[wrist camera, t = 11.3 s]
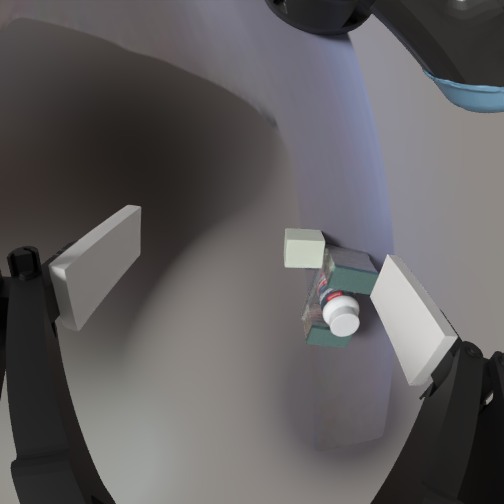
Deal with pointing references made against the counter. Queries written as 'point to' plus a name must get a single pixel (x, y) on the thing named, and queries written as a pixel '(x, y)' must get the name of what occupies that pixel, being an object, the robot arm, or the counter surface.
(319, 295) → the pill bottle
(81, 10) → the counter surface
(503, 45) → the robot arm
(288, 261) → the block
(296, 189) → the counter surface
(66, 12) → the counter surface
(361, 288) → the teal white block
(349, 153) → the counter surface
